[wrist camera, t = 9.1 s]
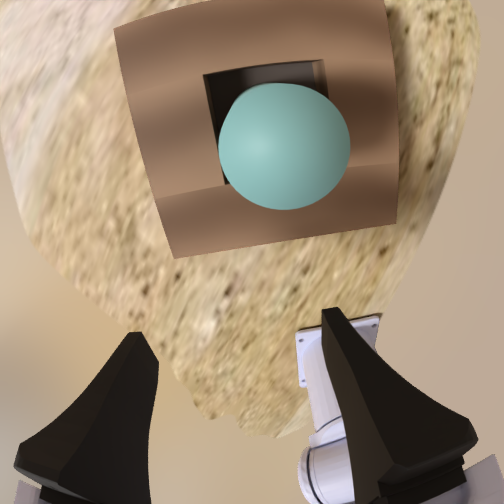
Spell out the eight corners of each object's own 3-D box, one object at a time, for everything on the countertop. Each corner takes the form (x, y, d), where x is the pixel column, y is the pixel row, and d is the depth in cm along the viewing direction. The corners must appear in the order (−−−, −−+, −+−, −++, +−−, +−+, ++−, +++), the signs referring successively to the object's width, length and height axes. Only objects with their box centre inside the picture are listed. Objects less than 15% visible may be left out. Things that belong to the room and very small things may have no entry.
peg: (306, 152, 17) (347, 206, 10) (233, 157, 17) (226, 214, 11) (303, 81, 15) (350, 84, 8) (226, 85, 15) (211, 88, 8)
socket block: (377, 204, 20) (396, 223, 17) (181, 235, 20) (174, 258, 18) (362, 5, 12) (382, -5, 10) (132, 35, 13) (113, 28, 10)
